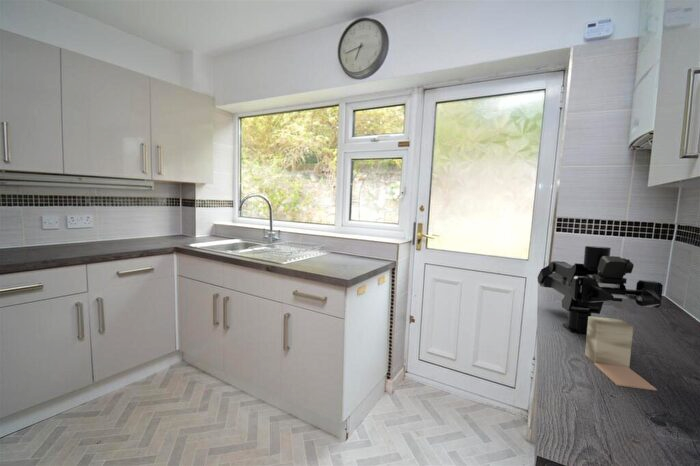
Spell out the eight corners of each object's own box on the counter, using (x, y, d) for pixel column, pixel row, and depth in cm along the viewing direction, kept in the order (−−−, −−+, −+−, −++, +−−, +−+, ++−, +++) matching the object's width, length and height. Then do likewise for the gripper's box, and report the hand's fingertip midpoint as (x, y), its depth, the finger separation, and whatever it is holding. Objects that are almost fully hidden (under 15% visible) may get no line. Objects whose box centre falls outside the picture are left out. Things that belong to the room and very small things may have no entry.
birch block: (584, 354, 81) (588, 316, 81) (616, 358, 80) (620, 319, 79) (595, 363, 77) (598, 323, 76) (629, 367, 75) (633, 326, 74)
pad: (593, 364, 76) (593, 362, 76) (628, 368, 75) (628, 367, 75) (616, 385, 67) (616, 384, 67) (656, 390, 65) (656, 389, 65)
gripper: (564, 253, 90) (592, 262, 74) (642, 257, 85) (689, 268, 70) (560, 292, 90) (588, 309, 75) (638, 298, 86) (684, 317, 71)
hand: (635, 300), depth 73 cm, fingers open, 9 cm apart
